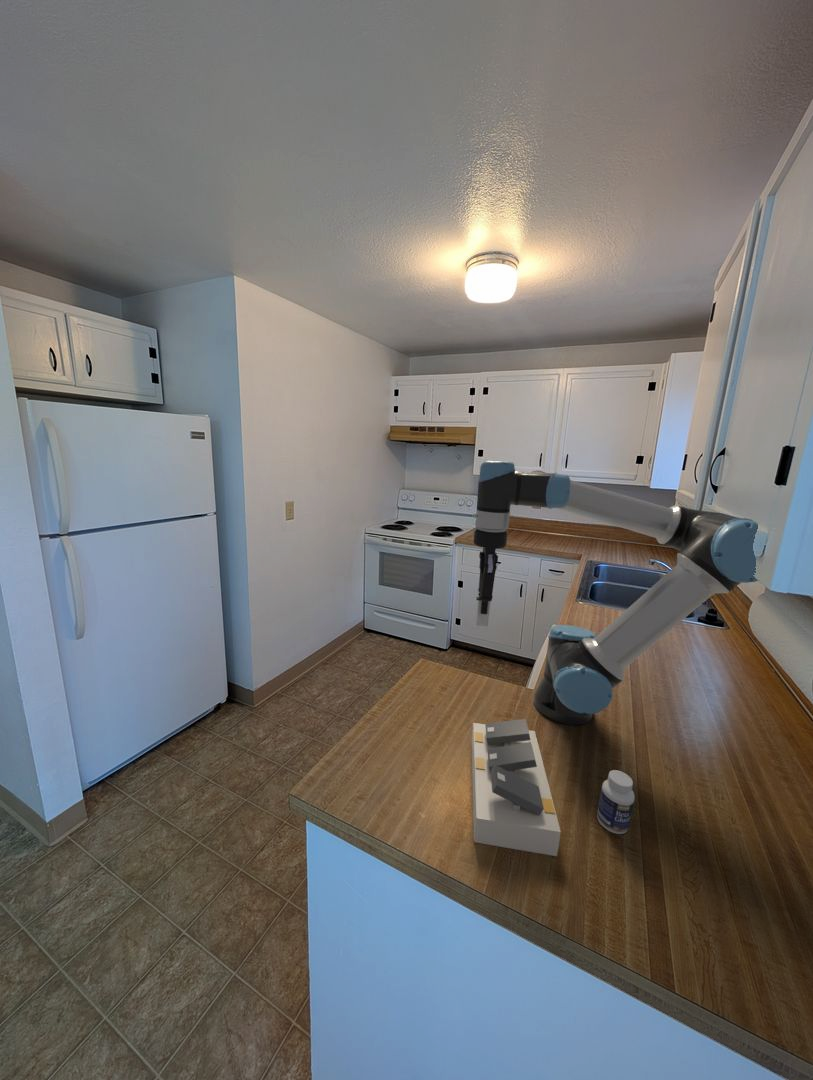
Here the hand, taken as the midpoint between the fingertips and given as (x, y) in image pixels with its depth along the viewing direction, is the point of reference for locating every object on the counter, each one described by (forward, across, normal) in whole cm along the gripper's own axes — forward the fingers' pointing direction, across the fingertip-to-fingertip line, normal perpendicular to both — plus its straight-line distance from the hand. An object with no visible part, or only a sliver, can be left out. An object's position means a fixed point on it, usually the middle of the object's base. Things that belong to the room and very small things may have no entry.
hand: (481, 624), depth 99 cm
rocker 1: (+19, +13, +6) cm, 24 cm away
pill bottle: (+27, +26, +25) cm, 45 cm away
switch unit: (+26, +21, +6) cm, 34 cm away
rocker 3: (+19, +29, +6) cm, 35 cm away
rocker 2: (+19, +21, +6) cm, 29 cm away
